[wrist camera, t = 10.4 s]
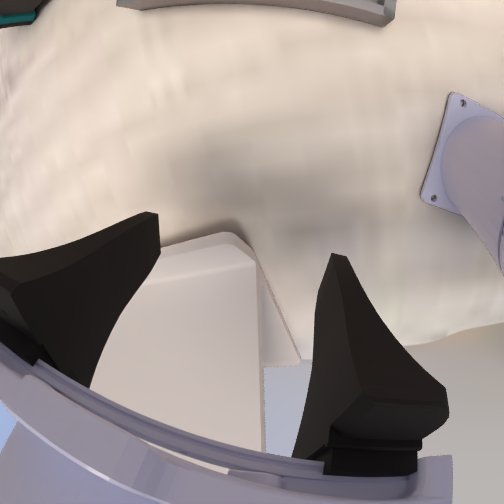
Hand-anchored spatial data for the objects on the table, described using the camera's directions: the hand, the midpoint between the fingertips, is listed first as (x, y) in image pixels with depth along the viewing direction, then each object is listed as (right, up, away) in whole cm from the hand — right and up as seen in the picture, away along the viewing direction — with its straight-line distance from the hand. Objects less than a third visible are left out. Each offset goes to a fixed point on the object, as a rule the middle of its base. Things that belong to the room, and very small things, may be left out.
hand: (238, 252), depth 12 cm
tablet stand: (-8, -7, +19) cm, 22 cm away
